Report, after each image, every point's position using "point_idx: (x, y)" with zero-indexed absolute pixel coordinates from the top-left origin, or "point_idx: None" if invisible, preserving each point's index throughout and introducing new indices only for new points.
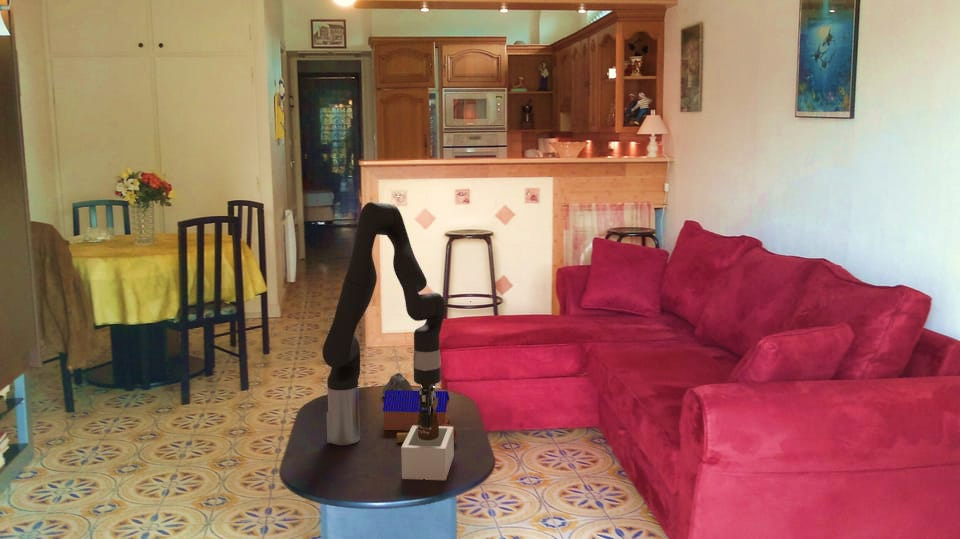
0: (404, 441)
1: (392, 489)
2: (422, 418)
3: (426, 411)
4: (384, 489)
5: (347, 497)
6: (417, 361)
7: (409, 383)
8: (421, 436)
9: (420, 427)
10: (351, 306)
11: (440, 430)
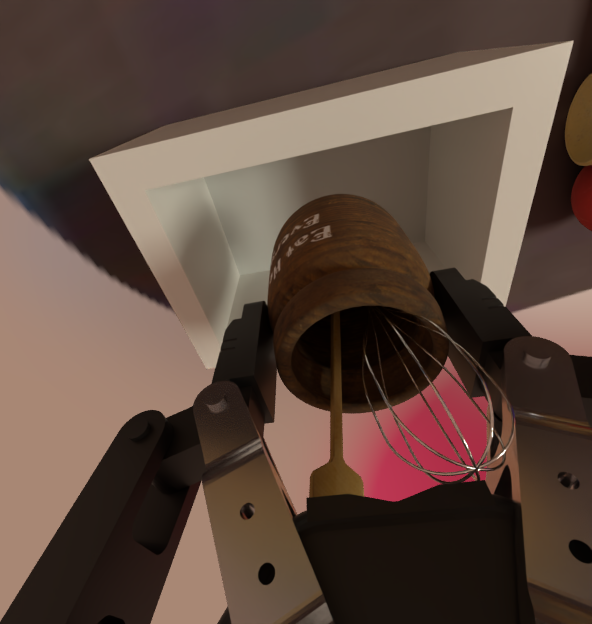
0: (197, 133)
1: (50, 128)
2: (235, 353)
3: (156, 485)
4: (22, 87)
5: None
6: None
7: None
8: (274, 245)
9: (274, 269)
10: None
11: (476, 266)
